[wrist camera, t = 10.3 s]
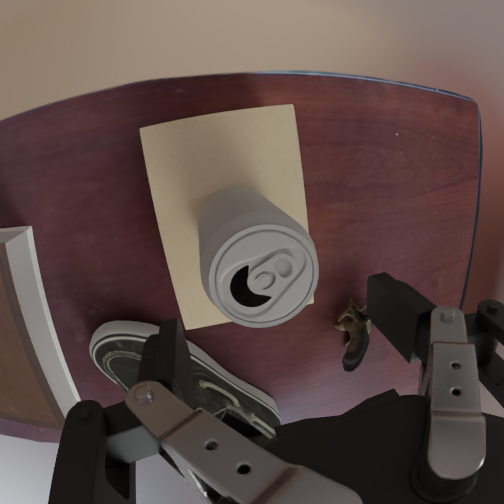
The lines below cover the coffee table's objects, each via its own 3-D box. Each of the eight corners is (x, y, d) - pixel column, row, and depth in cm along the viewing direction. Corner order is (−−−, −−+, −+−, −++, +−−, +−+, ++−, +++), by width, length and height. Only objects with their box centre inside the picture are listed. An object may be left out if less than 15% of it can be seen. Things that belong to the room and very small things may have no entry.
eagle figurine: (312, 316, 40) (329, 370, 41) (358, 321, 34) (371, 379, 35) (344, 289, 44) (357, 340, 46) (387, 290, 38) (397, 345, 40)
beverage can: (182, 214, 26) (173, 269, 15) (246, 169, 25) (287, 190, 14) (226, 271, 28) (247, 354, 17) (286, 230, 28) (345, 289, 17)
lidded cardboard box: (152, 132, 30) (138, 127, 23) (271, 112, 32) (294, 103, 24) (186, 293, 37) (185, 330, 29) (291, 272, 38) (314, 303, 31)
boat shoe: (116, 293, 35) (96, 339, 26) (297, 393, 45) (316, 438, 36) (83, 349, 37) (63, 397, 28) (253, 431, 47) (265, 476, 38)
